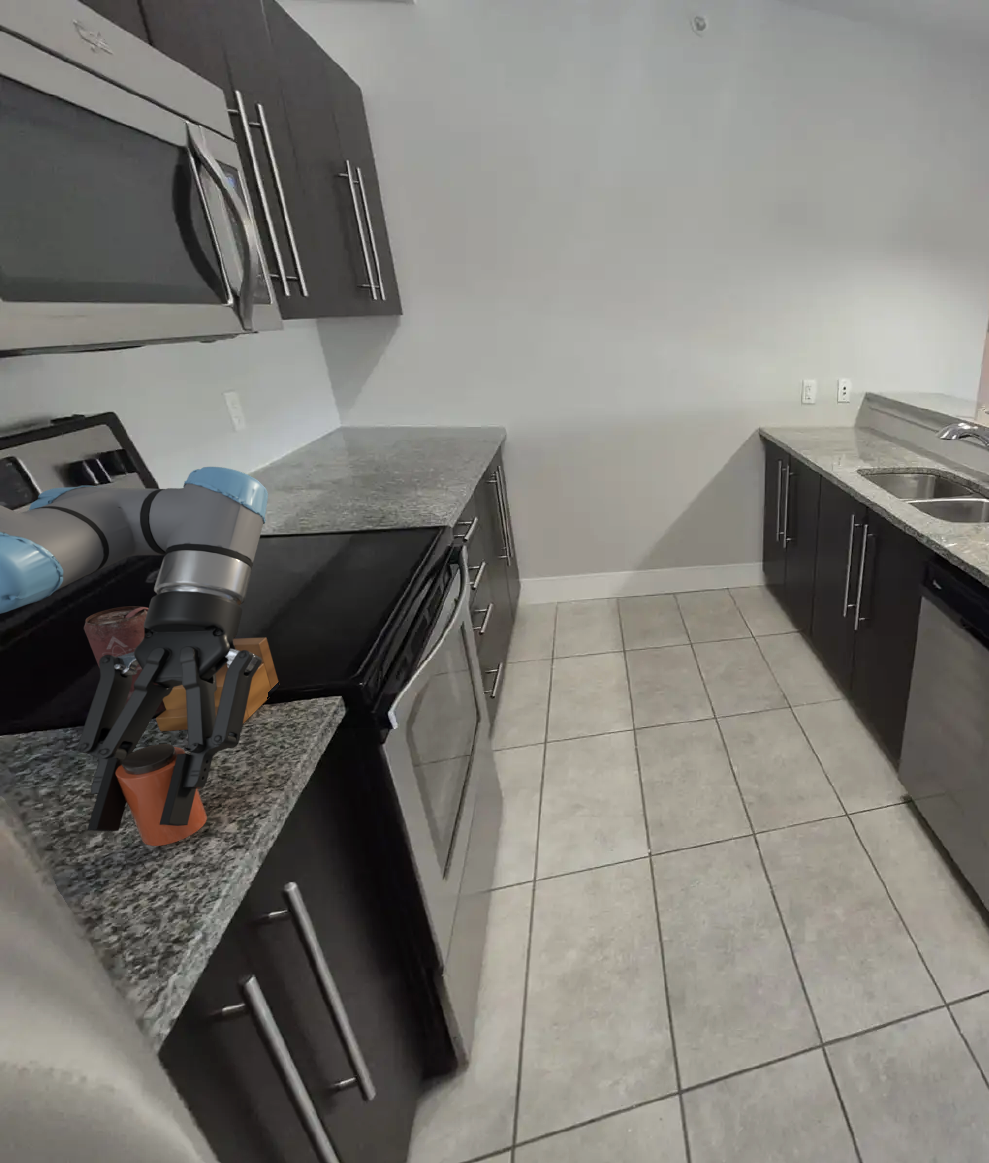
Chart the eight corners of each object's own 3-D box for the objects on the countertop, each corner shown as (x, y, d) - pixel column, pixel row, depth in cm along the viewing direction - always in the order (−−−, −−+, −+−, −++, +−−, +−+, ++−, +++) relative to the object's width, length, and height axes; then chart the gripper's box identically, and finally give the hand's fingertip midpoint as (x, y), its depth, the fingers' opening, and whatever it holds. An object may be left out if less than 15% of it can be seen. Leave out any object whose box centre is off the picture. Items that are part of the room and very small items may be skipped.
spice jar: (128, 848, 63) (98, 774, 59) (163, 813, 67) (136, 741, 64) (187, 843, 64) (161, 769, 60) (218, 808, 68) (194, 738, 65)
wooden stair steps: (160, 731, 81) (140, 677, 78) (208, 690, 90) (192, 640, 88) (240, 726, 83) (224, 673, 80) (280, 686, 92) (266, 637, 89)
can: (193, 700, 88) (162, 608, 83) (137, 725, 82) (100, 628, 77) (164, 691, 90) (131, 600, 84) (107, 714, 84) (69, 618, 79)
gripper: (309, 610, 75) (267, 820, 66) (127, 615, 71) (57, 838, 62) (275, 585, 68) (223, 816, 59) (72, 589, 65) (-15, 835, 56)
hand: (138, 827), depth 61 cm, fingers closed on spice jar, 5 cm apart
